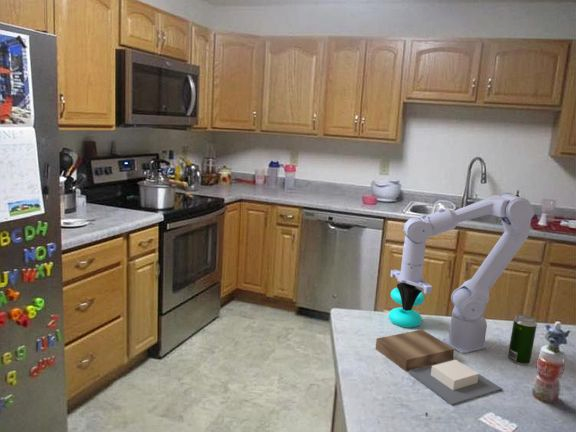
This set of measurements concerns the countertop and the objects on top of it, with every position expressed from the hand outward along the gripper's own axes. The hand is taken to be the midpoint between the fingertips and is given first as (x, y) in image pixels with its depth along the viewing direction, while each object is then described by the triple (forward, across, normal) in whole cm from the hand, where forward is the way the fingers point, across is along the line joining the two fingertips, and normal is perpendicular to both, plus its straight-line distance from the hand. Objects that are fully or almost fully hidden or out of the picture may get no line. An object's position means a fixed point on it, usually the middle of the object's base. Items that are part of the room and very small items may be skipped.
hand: (407, 309), depth 127 cm
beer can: (+10, +20, +22) cm, 31 cm away
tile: (+9, +21, -2) cm, 23 cm away
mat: (+9, +21, -2) cm, 23 cm away
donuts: (+10, -10, +9) cm, 17 cm away
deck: (+9, +7, -2) cm, 12 cm away
